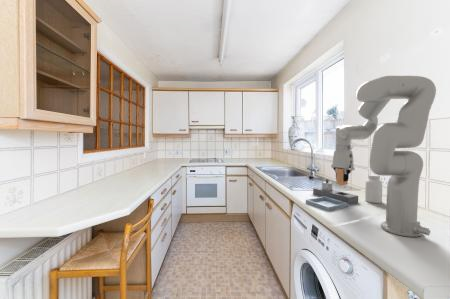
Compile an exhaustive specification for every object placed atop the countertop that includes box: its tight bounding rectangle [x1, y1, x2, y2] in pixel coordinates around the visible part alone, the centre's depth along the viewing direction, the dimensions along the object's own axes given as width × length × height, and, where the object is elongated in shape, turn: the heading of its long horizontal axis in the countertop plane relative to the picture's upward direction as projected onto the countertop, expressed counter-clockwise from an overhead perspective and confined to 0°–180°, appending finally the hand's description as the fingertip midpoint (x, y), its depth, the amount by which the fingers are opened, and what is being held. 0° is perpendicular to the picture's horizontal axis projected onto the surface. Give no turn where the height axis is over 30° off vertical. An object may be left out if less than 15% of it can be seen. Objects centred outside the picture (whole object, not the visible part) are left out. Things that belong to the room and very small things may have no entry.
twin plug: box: [321, 178, 333, 191], centre depth 134 cm, size 4×4×11 cm
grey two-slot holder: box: [312, 186, 359, 205], centre depth 129 cm, size 24×8×4 cm, turn 25°
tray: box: [305, 196, 349, 212], centre depth 117 cm, size 15×15×3 cm
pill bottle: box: [364, 174, 383, 204], centre depth 124 cm, size 8×8×15 cm
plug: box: [335, 168, 349, 186], centre depth 124 cm, size 4×4×11 cm
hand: (342, 179), depth 124 cm, fingers closed on plug, 4 cm apart
